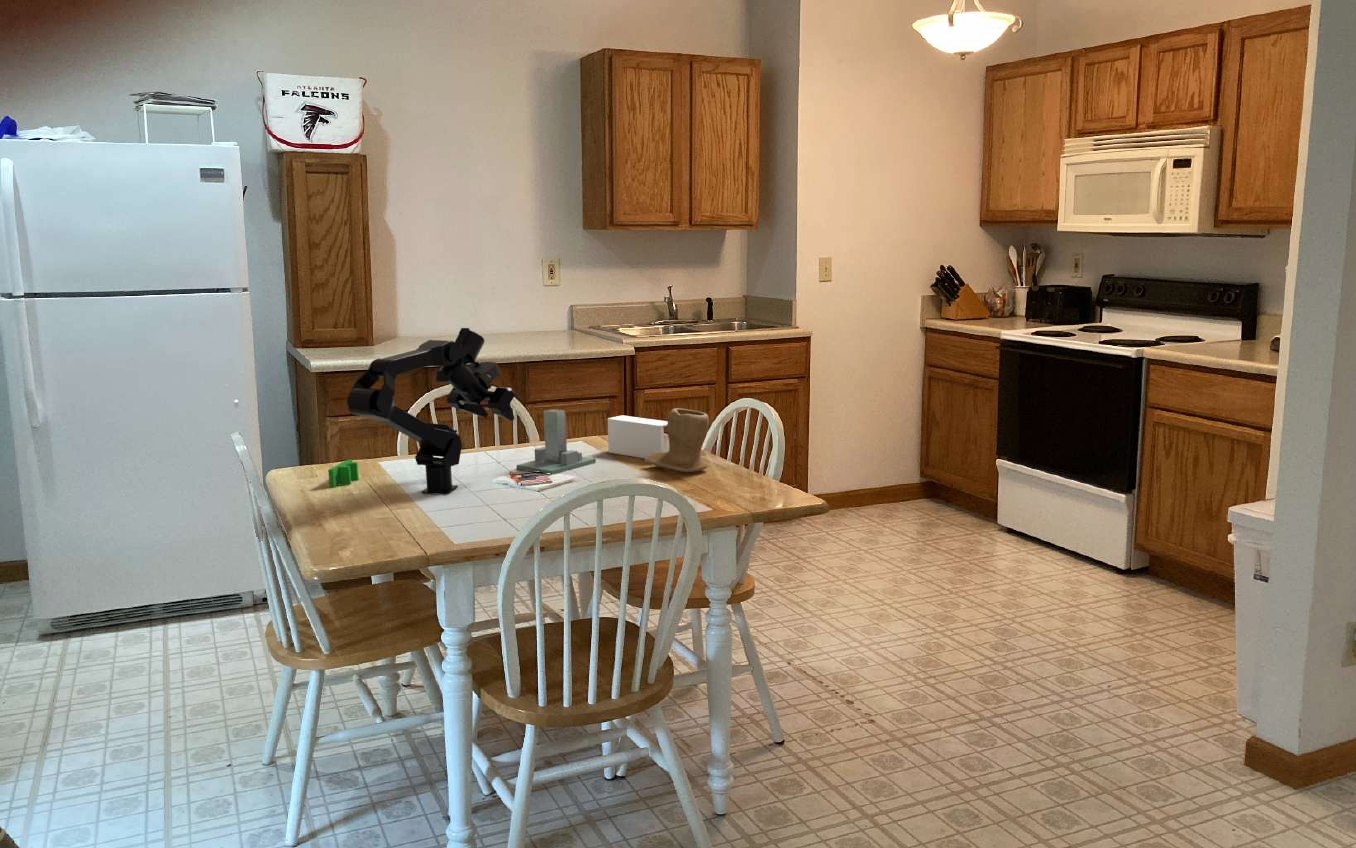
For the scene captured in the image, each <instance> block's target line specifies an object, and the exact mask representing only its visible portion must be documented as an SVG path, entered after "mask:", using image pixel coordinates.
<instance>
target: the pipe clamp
mask: <svg viewBox="0 0 1356 848" xmlns="http://www.w3.org/2000/svg"><path fill="white" fill-rule="evenodd" d="M358 463H359V462H357V461H354V462H353V459H346V460H344V461H342V462H341V463H338V464H337V465H335V466H333V467H331V468H329V469H328V470H327V471H328V483H329V484H328V485H329V488H330V489H335V488H337V487H339V486H340V485H339V484H351V485H352V482H353V481H352V480H356V481H359V480H360V475H359V465H358ZM358 479H359V480H358ZM336 486H337V487H336Z"/></svg>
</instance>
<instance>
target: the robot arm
mask: <svg viewBox="0 0 1356 848" xmlns="http://www.w3.org/2000/svg"><path fill="white" fill-rule="evenodd" d="M484 345H485V339H484V337H483V336H482V335H480V334H478V333H477V332H475V331H474V330H470V328H469V327H461V328H460V330H459V332H458V335H457V337H456V339H455V341H454V340H441V339H430V340H427V341H425V342H423V343H421V344H420V345H419V346H418V348H416V349H414V350H413V349H412V350H410V351H405V352H403V353H402V352H401V353H398V354H395V355H392V356H386V357H383V358H376V359H374V360H371V363H370V365H369V367H368V369H367V370H366V371H365V372H364V373H363V374H362V375H360V377H359V378H358V379H356V380H355V383H354V384H353V386H352V388H351V390H350V392H349V394H348V395H347V400H346V404H347V406H348V407H347V408H348V412H350V413H351V414H353V415H355V416H359V417H363V418H367V419H372V420H378V421H379V422H382V423H384V424H385V425H387V426H389V427H390V428H392V429H394V430H396V431H398V432H400V433H401V434H403V435H405V436H407V437H408V438H410V439H412V440H414V441H416V442H417V443H418V446H419V449H418V451H417V452H416V454H415V456H414V459H415V463H416V464H417V466H425V477H426V480H425V481H426V487H425V488H424V489H422V490H421V494H436V495H437V494H439V495H441V494H442V495H443V494H444V495H449V494H450V493H451V492H453V491H455V490H456V489H458V487H459V486H458V485H456V484H454V485H453V479H452V478H453V477H452V467H453V466H457V465H459V464H460V459H461V453H462V447H463V442H462V441H461V436H460V435H459V434H458V433H457V432H458V430H457V429H452V427H450V426H449V425H448V424H441V423H434V422H433V423H431V422H425V421H422V420H421V419H419V418H418V417H417V416H414V415H412V414H411V413H409V412H407V411H405V410H404V409H403V408H400V407H399V406H398V405H395V400H394V396H395V393H396V384H395V383H396V379H397V376H398V375H402V374H406V373H410V372H413V371H416V370H417V371H418V370H420V369H425V368H428V367H440V368H439V370H436V377H435V381H436V382H437V383H449V384H450V385H451V386H452V389H451V390H450V391H449V394H448V395H447V396H446V403H447V404H448V405H449V407H451V408H455V409H457V410H460V411H464V412H467V413H469V414H473V415H476V416H479V417H482V418H485V419H486V418H488V416H489V414H488V412H487V410H486V408H484V407H483V404H481V402H483V401H484V402H487V409H489V410H490V411H491V412H492V413H493V414H494V415H496V416H498V417H500V418H503V419H505V420H507V421H510V422H513V421H514V420H515V415H514V412H513V409H512V407H511V403H512V401H513V400H514V398H515V396H516V392H515V391H514V390H513V389H512V388H511V387H506V386H497V387H496V388H495V389H494V390H493V391H492V390H490V389H492V386H493V384H492V382H493V381H494V380H495V379H496V378H498V377H501V374H502V373H501V370H500V368H499V366H498V364H497V362H495V361H484V362H483V361H482V362H479V361H476V360H477V357H478V356H479V354H480V352H481V350H482V348H483V346H484ZM468 364H469V365H468ZM380 378H381V379H382V378H383V380H382V381H383V384H382V386H381V388H372V387H373V385H375V384H376V383H377V382H378V381H379V380H380Z"/></svg>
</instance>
